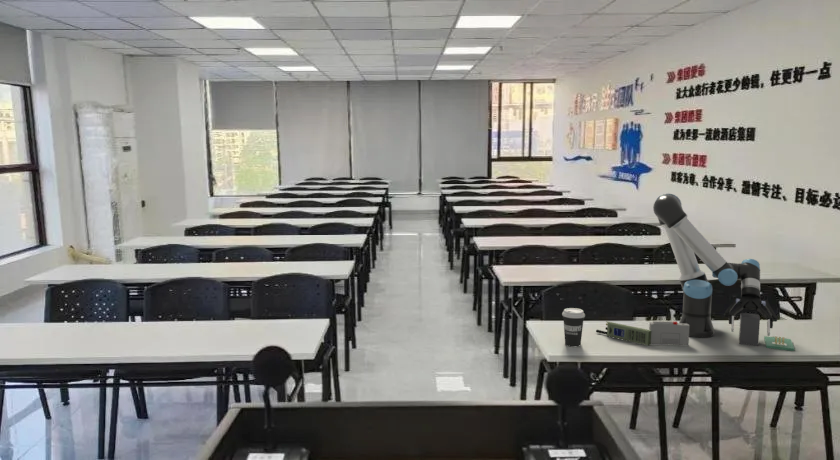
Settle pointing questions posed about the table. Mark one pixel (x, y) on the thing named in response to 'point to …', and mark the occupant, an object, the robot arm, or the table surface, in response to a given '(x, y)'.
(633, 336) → the handheld radio
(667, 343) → the cassette player
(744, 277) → the robot arm
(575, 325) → the coffee cup
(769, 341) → the header board
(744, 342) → the block
